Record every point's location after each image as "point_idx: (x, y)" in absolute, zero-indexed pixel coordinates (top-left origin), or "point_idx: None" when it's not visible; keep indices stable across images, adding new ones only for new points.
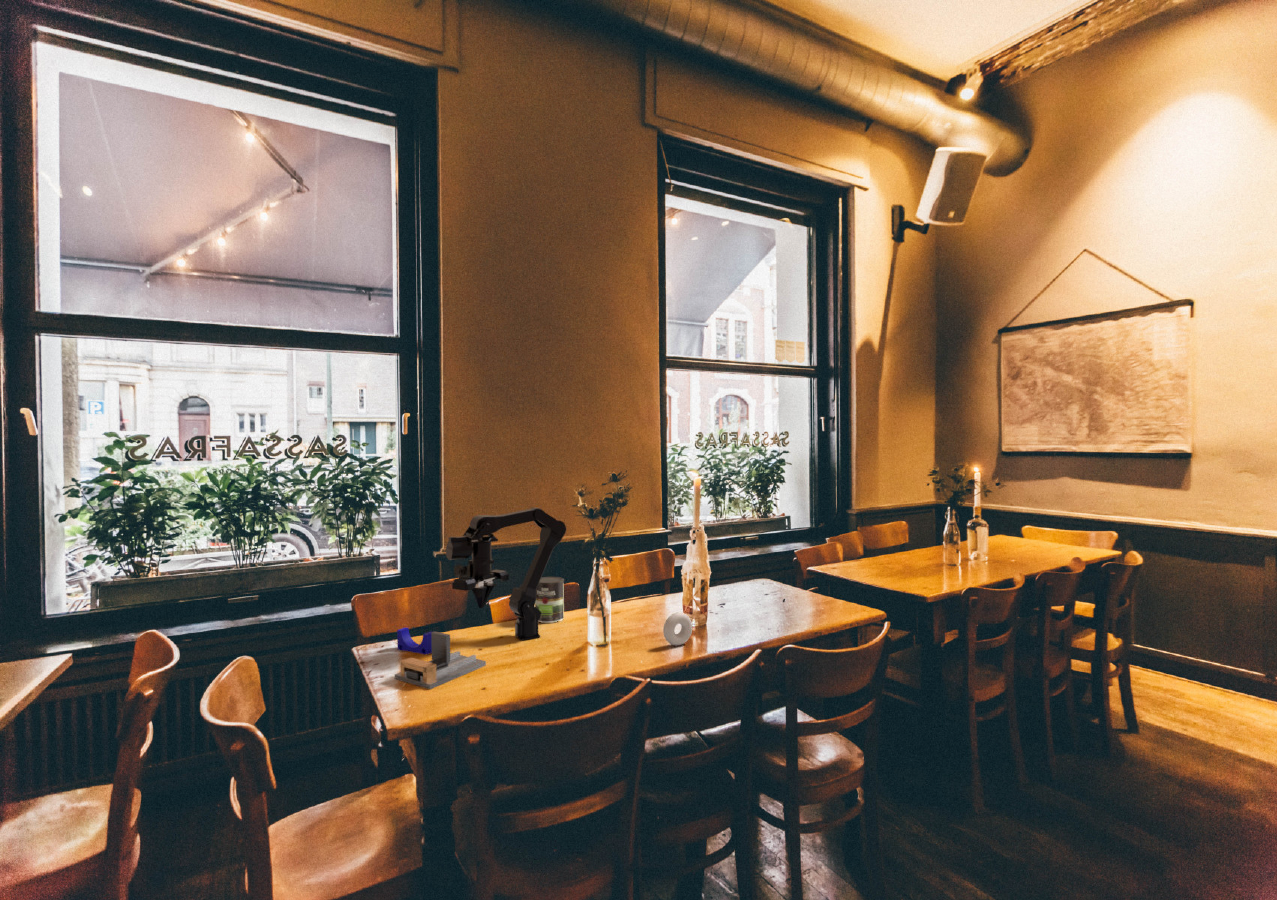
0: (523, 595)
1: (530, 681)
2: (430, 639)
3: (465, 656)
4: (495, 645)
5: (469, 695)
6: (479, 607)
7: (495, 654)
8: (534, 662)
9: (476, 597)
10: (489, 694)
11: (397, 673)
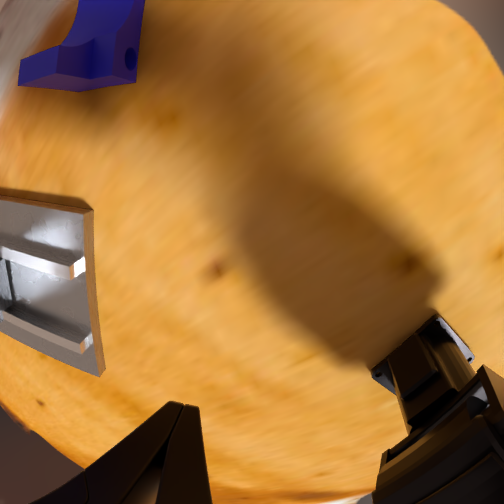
0: None
1: None
2: (55, 82)
3: (85, 297)
4: (289, 306)
5: (15, 388)
6: (166, 408)
7: (193, 357)
8: None
9: (84, 483)
10: (38, 416)
11: None
